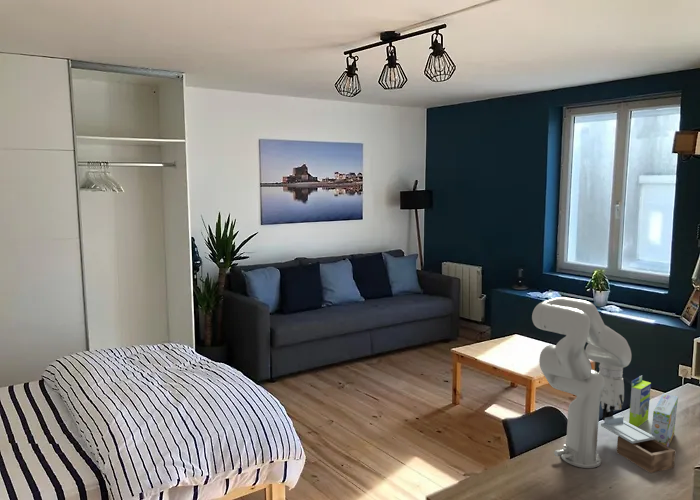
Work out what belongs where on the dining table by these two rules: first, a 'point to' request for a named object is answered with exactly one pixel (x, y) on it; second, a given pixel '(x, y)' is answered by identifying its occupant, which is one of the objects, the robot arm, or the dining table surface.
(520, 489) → the dining table surface
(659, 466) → the keepsake box
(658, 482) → the dining table surface
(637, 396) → the box
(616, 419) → the lid
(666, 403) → the snack box
